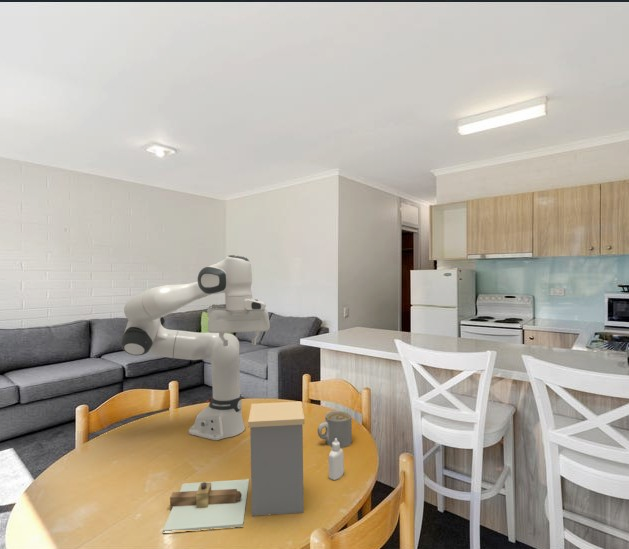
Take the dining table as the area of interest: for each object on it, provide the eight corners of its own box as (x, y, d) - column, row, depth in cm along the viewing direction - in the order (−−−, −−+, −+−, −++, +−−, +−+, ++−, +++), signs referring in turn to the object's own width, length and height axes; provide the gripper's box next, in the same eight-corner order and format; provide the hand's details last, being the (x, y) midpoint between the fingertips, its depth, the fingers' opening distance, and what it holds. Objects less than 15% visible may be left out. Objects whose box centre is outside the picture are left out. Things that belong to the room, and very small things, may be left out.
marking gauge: (168, 509, 100) (168, 490, 100) (174, 498, 105) (174, 480, 105) (240, 505, 102) (240, 487, 102) (242, 494, 107) (242, 476, 107)
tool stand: (249, 517, 98) (248, 421, 98) (253, 488, 111) (251, 403, 110) (305, 513, 100) (304, 418, 99) (302, 485, 113) (301, 401, 112)
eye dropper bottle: (325, 474, 118) (325, 437, 118) (341, 470, 120) (340, 434, 120) (331, 481, 114) (330, 443, 114) (347, 477, 116) (346, 440, 116)
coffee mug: (347, 434, 146) (347, 409, 146) (355, 446, 136) (354, 419, 136) (314, 437, 144) (314, 412, 143) (320, 450, 134) (319, 423, 134)
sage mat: (162, 534, 93) (162, 530, 93) (183, 486, 112) (183, 483, 112) (242, 527, 95) (242, 523, 95) (249, 482, 114) (249, 479, 114)
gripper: (205, 305, 118) (206, 348, 118) (269, 304, 120) (269, 346, 120) (208, 303, 124) (209, 344, 125) (269, 302, 126) (270, 342, 127)
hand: (239, 345), depth 122 cm, fingers open, 8 cm apart
